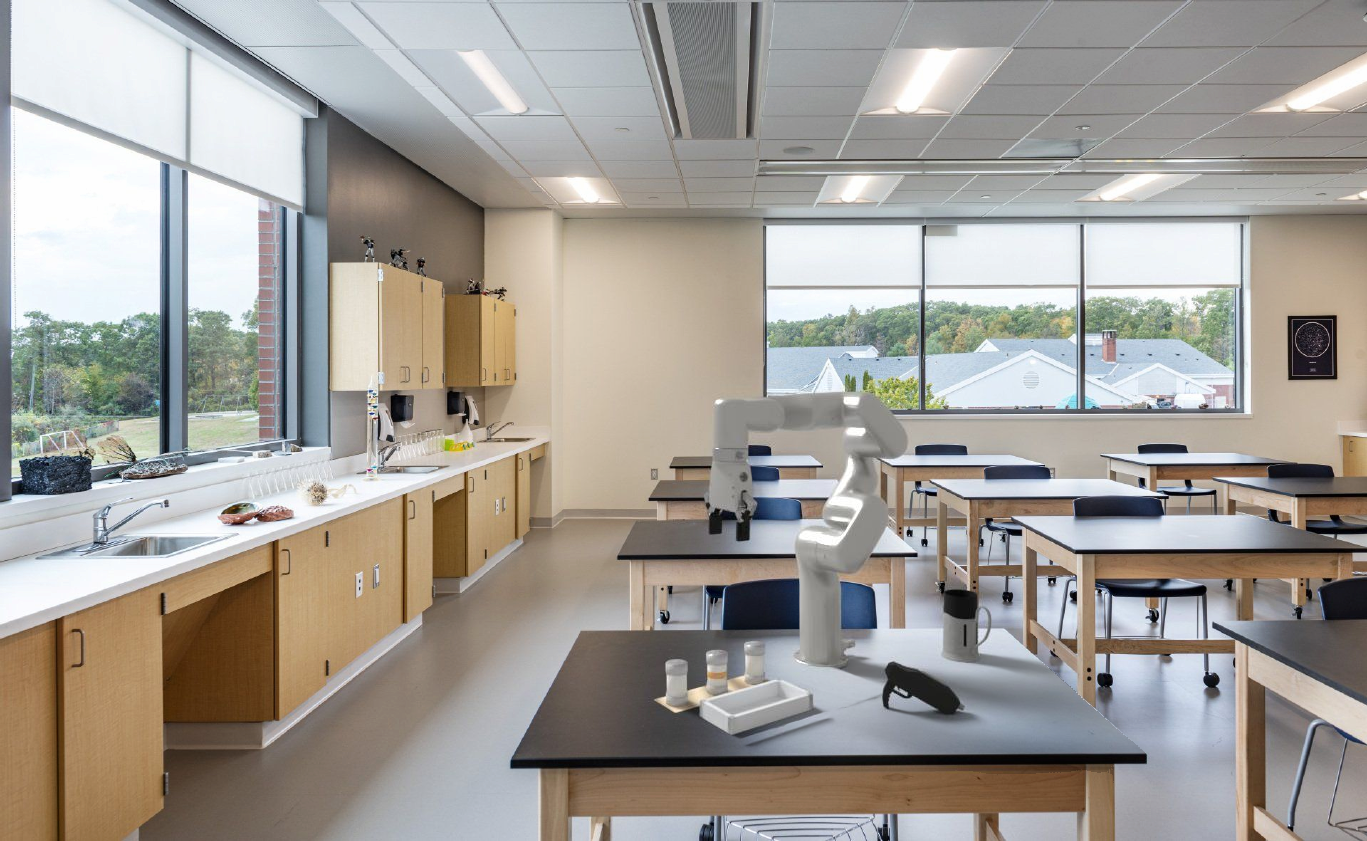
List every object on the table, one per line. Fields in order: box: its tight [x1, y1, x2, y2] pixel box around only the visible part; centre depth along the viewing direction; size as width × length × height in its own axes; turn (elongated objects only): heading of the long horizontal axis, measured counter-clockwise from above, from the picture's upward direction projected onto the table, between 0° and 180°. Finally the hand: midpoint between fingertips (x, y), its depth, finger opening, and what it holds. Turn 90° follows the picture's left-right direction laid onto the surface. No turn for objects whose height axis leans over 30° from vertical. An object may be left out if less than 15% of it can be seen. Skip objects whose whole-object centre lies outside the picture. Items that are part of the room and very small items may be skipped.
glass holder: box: [940, 588, 992, 663], centre depth 182 cm, size 9×14×15 cm, turn 21°
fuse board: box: [653, 674, 772, 714], centre depth 162 cm, size 26×8×1 cm, turn 124°
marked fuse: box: [705, 649, 729, 696], centre depth 162 cm, size 4×4×8 cm
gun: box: [881, 661, 966, 716], centre depth 154 cm, size 3×16×10 cm, turn 78°
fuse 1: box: [665, 658, 689, 707], centre depth 156 cm, size 4×4×8 cm
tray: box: [699, 678, 814, 736], centre depth 151 cm, size 20×10×4 cm, turn 124°
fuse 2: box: [743, 640, 766, 685], centre depth 167 cm, size 4×4×8 cm
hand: (728, 537), depth 165 cm, fingers open, 9 cm apart
